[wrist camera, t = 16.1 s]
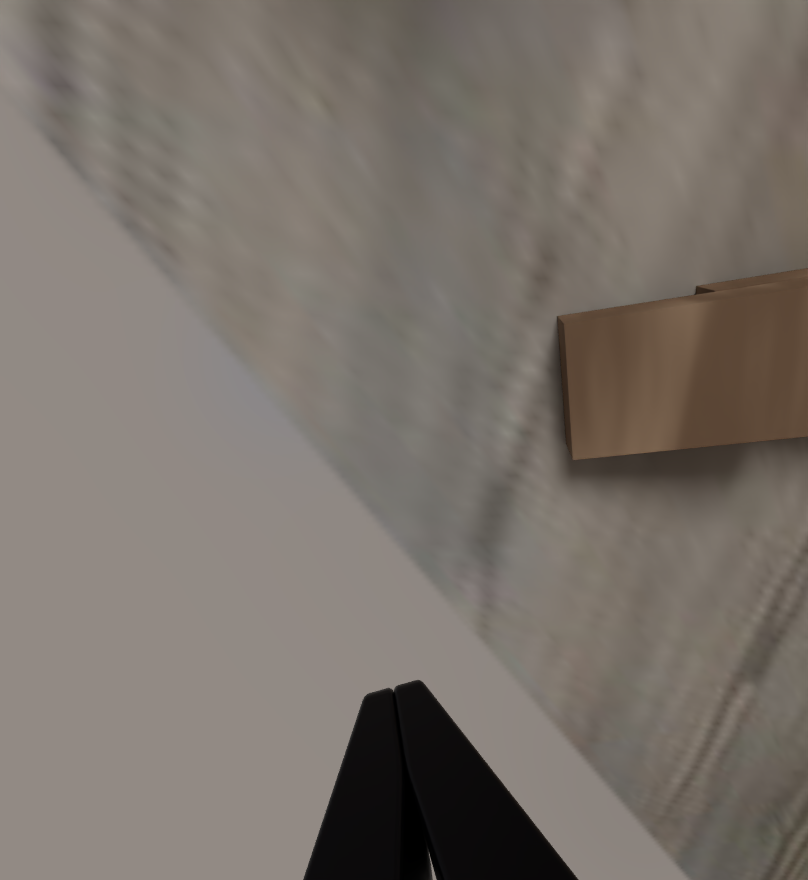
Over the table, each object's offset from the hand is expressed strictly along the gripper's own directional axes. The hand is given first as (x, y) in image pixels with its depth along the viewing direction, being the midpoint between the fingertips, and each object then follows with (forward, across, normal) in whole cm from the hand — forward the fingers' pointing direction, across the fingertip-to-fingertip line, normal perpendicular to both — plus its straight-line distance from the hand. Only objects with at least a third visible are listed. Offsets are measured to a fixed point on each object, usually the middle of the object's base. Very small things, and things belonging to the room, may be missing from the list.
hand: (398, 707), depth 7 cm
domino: (+11, -8, 0) cm, 14 cm away
